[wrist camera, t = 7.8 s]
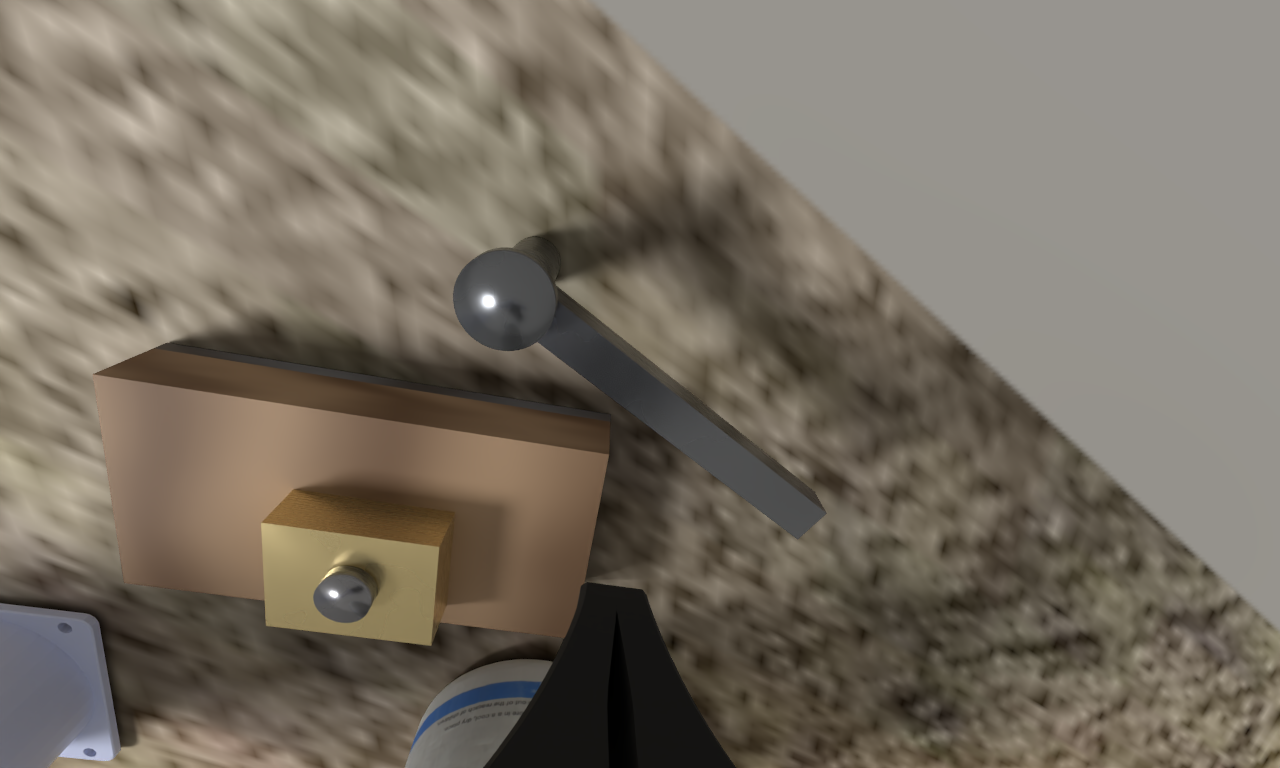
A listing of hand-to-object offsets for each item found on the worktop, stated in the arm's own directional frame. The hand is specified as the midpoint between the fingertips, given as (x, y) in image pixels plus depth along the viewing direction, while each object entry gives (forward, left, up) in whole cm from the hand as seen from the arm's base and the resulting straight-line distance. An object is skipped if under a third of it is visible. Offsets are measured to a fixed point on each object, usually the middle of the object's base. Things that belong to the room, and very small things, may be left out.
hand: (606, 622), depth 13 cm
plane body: (-8, -3, -9) cm, 12 cm away
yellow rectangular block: (-7, -4, -6) cm, 10 cm away
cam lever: (+1, +3, -9) cm, 10 cm away
